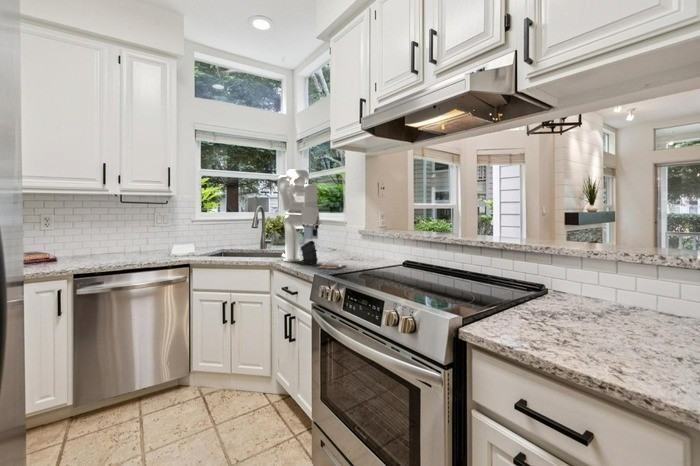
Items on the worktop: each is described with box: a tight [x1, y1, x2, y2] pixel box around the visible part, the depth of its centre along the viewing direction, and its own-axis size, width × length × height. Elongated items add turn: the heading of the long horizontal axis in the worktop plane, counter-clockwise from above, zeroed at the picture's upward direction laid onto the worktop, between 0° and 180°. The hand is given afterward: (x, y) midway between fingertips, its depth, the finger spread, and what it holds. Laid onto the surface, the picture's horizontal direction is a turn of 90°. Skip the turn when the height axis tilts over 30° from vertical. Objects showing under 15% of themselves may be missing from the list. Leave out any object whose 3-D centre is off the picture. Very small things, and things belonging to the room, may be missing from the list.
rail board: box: [316, 261, 347, 271], centre depth 200 cm, size 12×14×2 cm
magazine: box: [299, 240, 319, 266], centre depth 214 cm, size 4×13×15 cm, turn 46°
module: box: [303, 224, 319, 240], centre depth 197 cm, size 5×7×8 cm
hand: (311, 235), depth 197 cm, fingers closed on module, 5 cm apart
